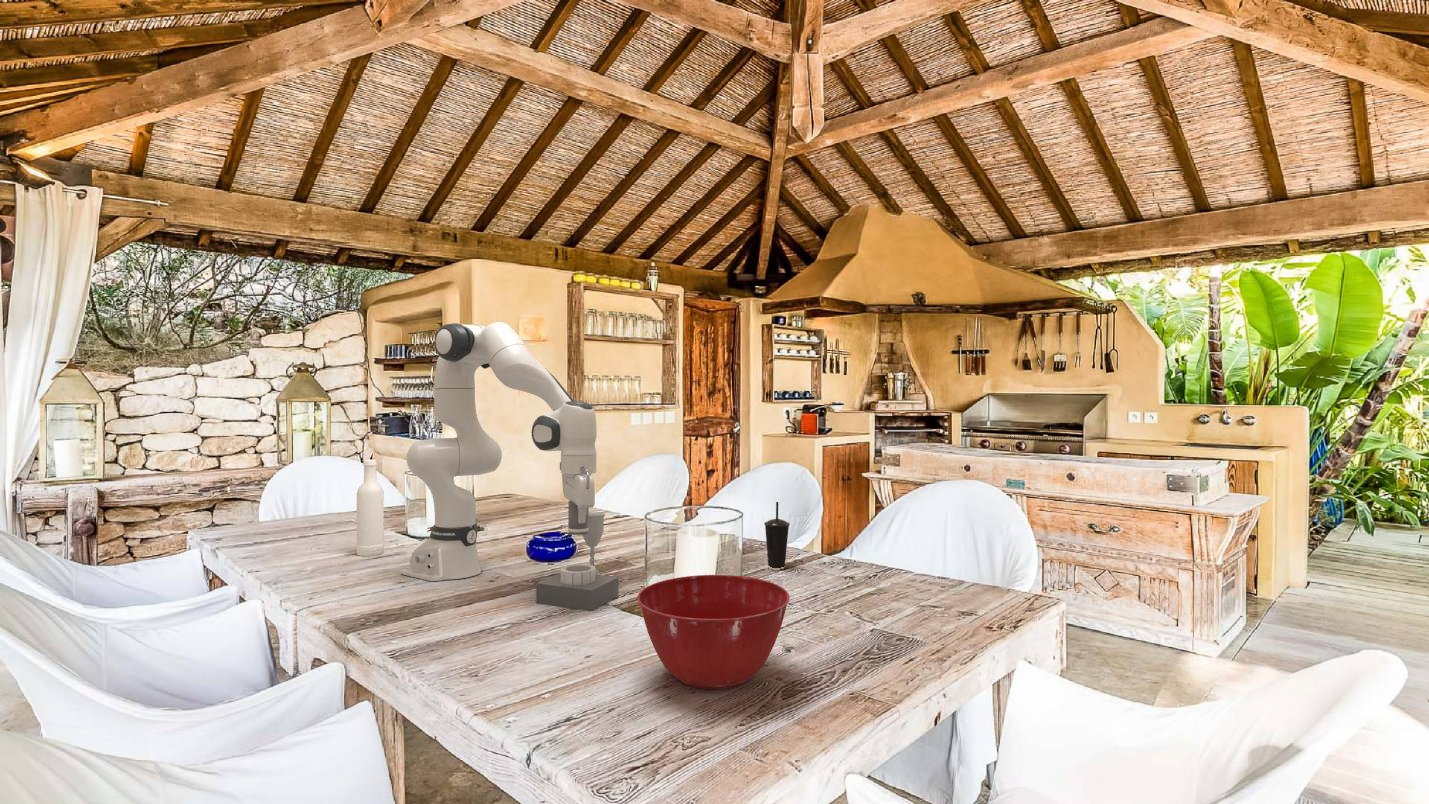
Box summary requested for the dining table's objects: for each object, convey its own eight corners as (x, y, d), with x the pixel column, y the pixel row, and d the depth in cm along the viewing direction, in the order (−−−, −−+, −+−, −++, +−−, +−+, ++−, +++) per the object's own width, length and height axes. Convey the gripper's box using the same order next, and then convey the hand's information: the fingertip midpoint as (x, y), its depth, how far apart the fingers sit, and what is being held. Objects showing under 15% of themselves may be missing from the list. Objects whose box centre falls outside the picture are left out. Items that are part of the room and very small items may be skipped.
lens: (564, 534, 180) (564, 501, 180) (575, 530, 185) (575, 498, 185) (581, 535, 178) (581, 503, 178) (592, 532, 183) (592, 500, 183)
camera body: (536, 603, 179) (536, 571, 179) (565, 589, 191) (565, 559, 191) (591, 611, 173) (592, 577, 173) (618, 596, 185) (618, 565, 185)
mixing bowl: (667, 720, 117) (668, 625, 116) (618, 659, 143) (619, 581, 142) (817, 692, 128) (818, 606, 128) (746, 640, 154) (747, 568, 154)
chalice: (607, 575, 207) (608, 512, 206) (601, 581, 200) (602, 516, 200) (582, 574, 207) (583, 511, 207) (576, 580, 201) (576, 515, 200)
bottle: (350, 555, 227) (350, 460, 226) (366, 550, 235) (366, 458, 234) (373, 557, 226) (373, 461, 225) (389, 551, 234) (389, 459, 233)
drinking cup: (790, 571, 212) (791, 504, 212) (764, 571, 212) (765, 503, 212) (788, 565, 220) (788, 500, 219) (763, 565, 220) (763, 499, 219)
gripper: (601, 469, 173) (601, 527, 173) (582, 461, 192) (581, 513, 192) (575, 470, 171) (575, 528, 171) (558, 462, 189) (558, 514, 190)
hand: (578, 520), depth 182 cm, fingers closed on lens, 5 cm apart
